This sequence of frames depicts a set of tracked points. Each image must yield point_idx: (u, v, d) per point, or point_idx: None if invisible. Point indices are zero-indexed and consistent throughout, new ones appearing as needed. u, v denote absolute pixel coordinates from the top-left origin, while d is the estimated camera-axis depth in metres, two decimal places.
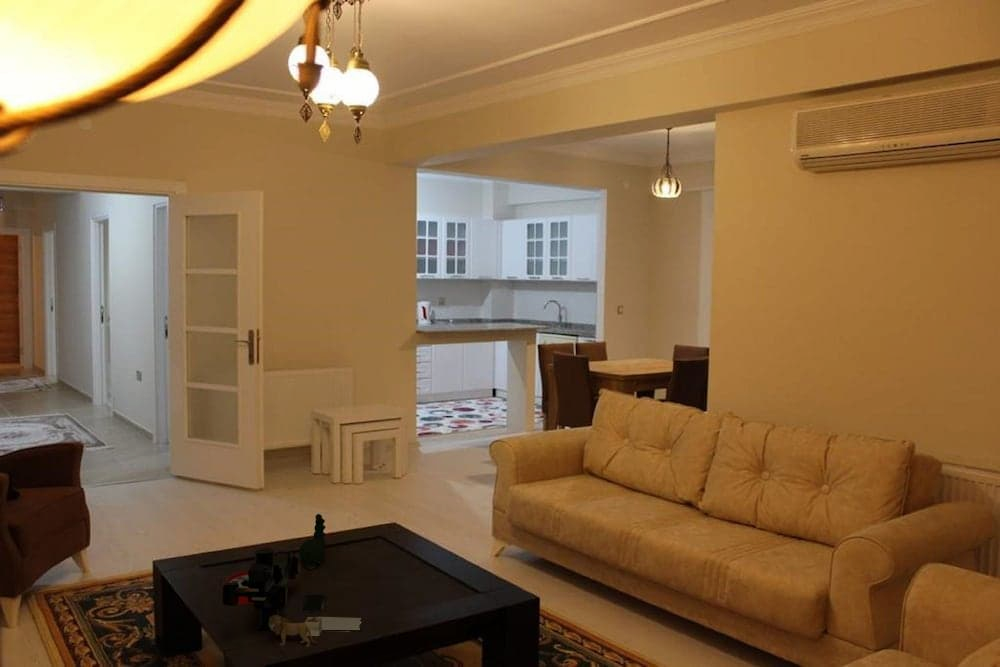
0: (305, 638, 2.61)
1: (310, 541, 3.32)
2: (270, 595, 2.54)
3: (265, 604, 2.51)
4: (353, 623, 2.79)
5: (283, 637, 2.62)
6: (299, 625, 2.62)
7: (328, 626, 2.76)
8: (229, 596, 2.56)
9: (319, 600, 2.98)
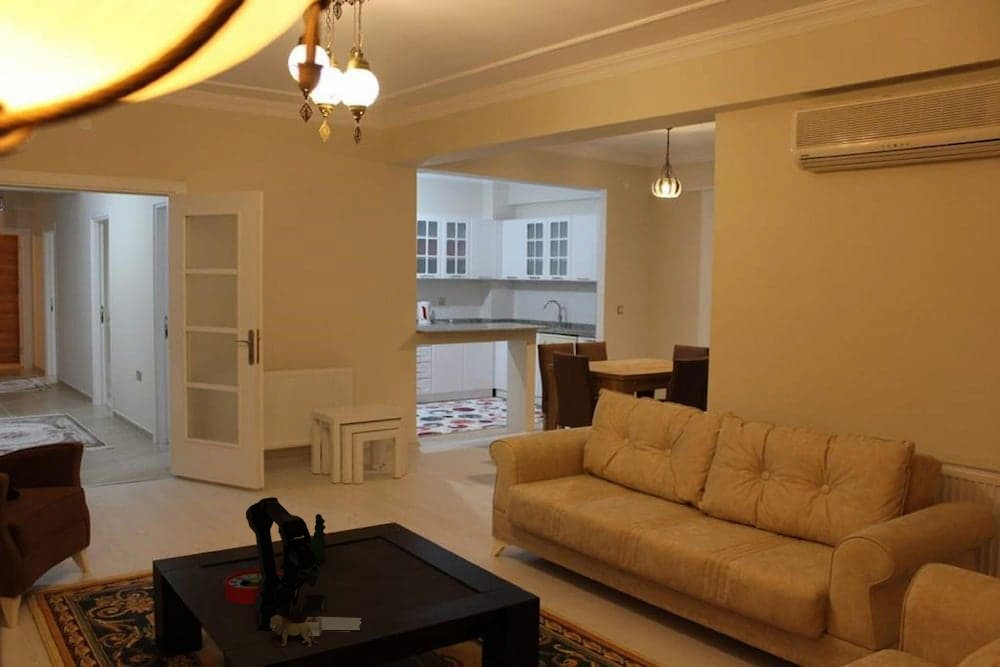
0: (307, 638, 2.61)
1: None
2: (299, 589, 2.68)
3: None
4: (353, 623, 2.79)
5: (285, 637, 2.62)
6: (301, 625, 2.62)
7: (328, 626, 2.76)
8: None
9: (319, 600, 2.98)
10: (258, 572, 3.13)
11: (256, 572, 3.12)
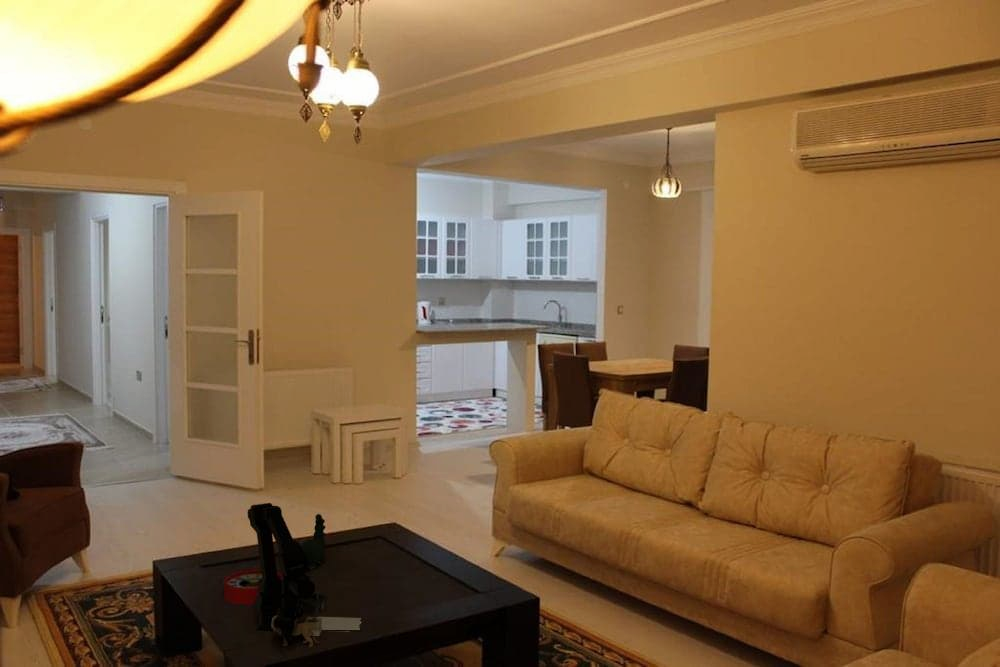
0: (308, 638, 2.61)
1: (310, 541, 3.32)
2: (297, 620, 2.66)
3: None
4: (353, 623, 2.79)
5: None
6: (302, 625, 2.62)
7: (328, 626, 2.76)
8: None
9: None
10: (257, 572, 3.12)
11: (255, 572, 3.12)
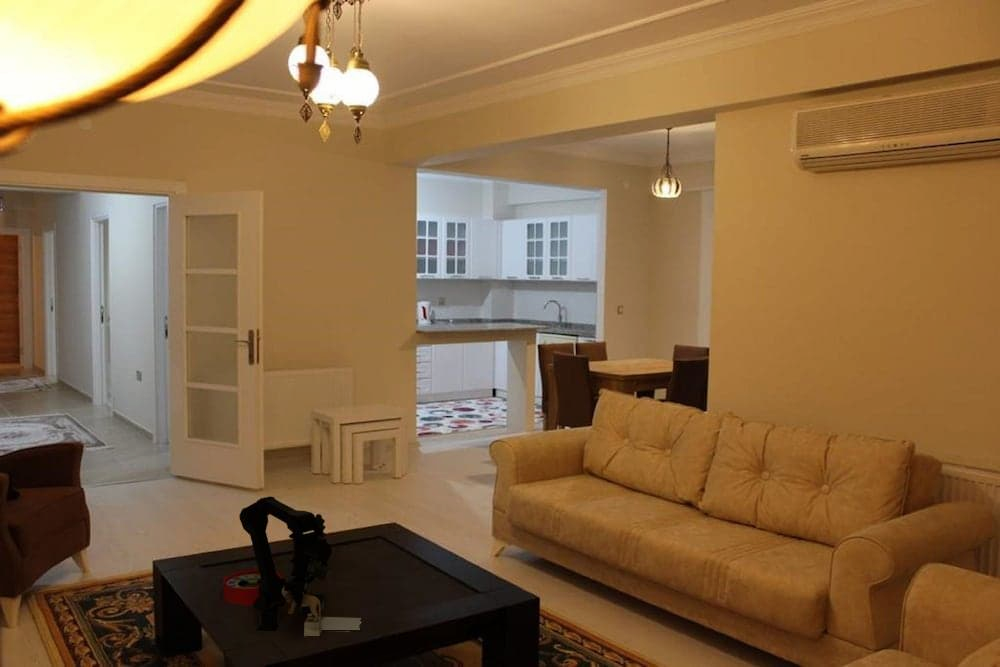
0: (314, 612, 2.64)
1: None
2: (308, 586, 2.68)
3: None
4: (353, 623, 2.79)
5: (293, 606, 2.64)
6: (311, 598, 2.64)
7: (328, 626, 2.76)
8: None
9: (319, 600, 2.98)
10: (256, 572, 3.12)
11: (254, 572, 3.12)
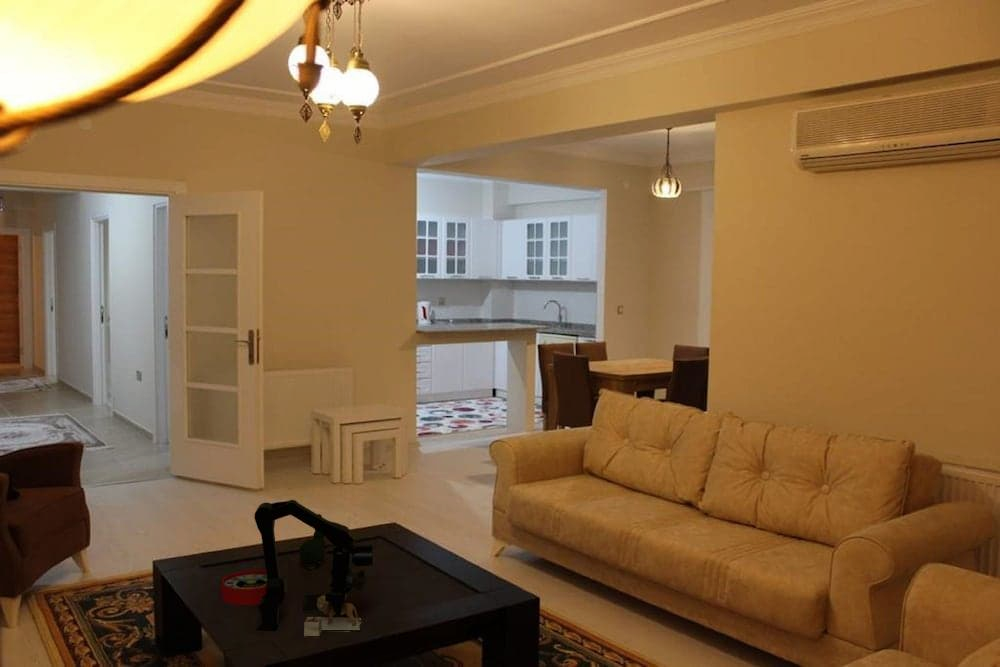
0: (352, 617, 2.77)
1: (310, 541, 3.32)
2: None
3: None
4: None
5: (331, 617, 2.78)
6: (346, 605, 2.78)
7: (328, 626, 2.76)
8: None
9: None
10: (254, 573, 3.12)
11: (252, 573, 3.12)
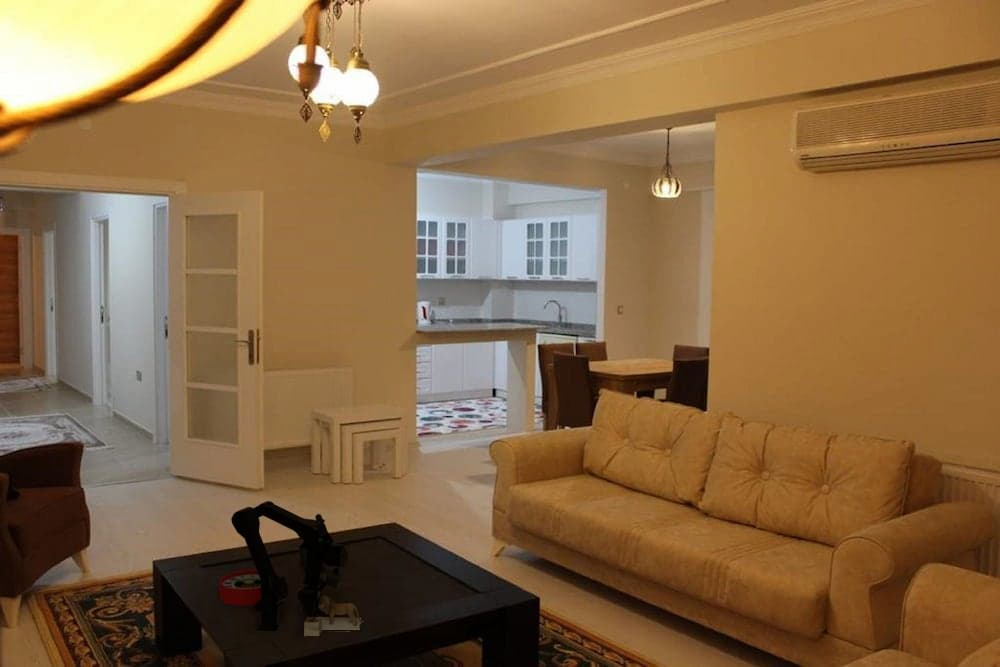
0: (353, 617, 2.77)
1: None
2: (321, 591, 2.76)
3: None
4: (353, 623, 2.79)
5: (332, 617, 2.78)
6: (347, 605, 2.78)
7: (328, 626, 2.76)
8: None
9: None
10: (252, 573, 3.12)
11: (250, 573, 3.11)
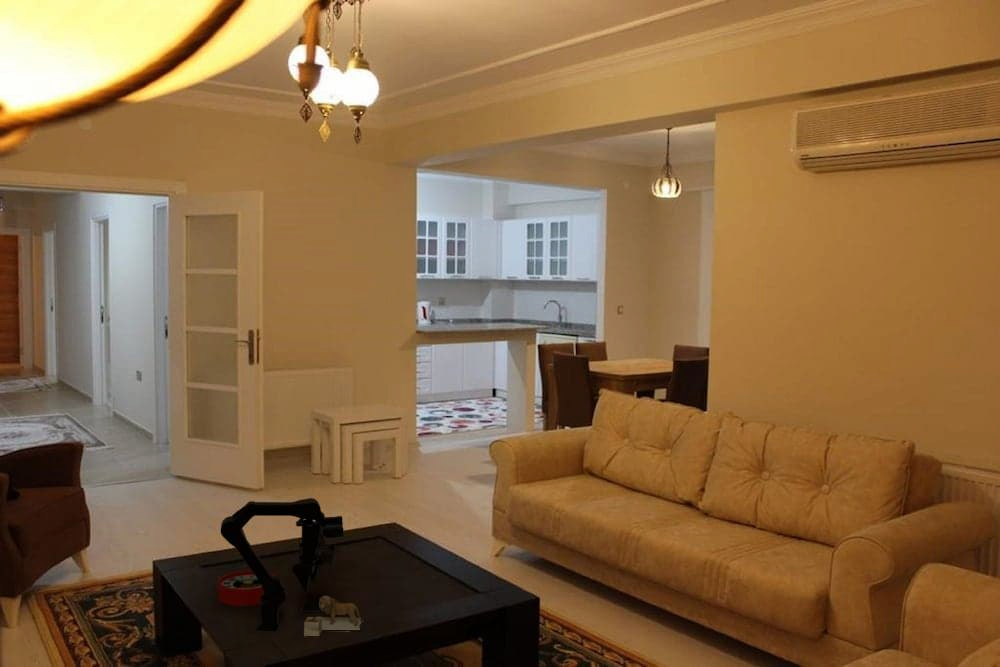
0: (354, 617, 2.77)
1: None
2: (318, 567, 2.84)
3: None
4: (353, 623, 2.79)
5: (333, 616, 2.78)
6: (348, 605, 2.78)
7: (328, 626, 2.76)
8: None
9: (319, 600, 2.98)
10: (251, 573, 3.11)
11: (249, 573, 3.11)
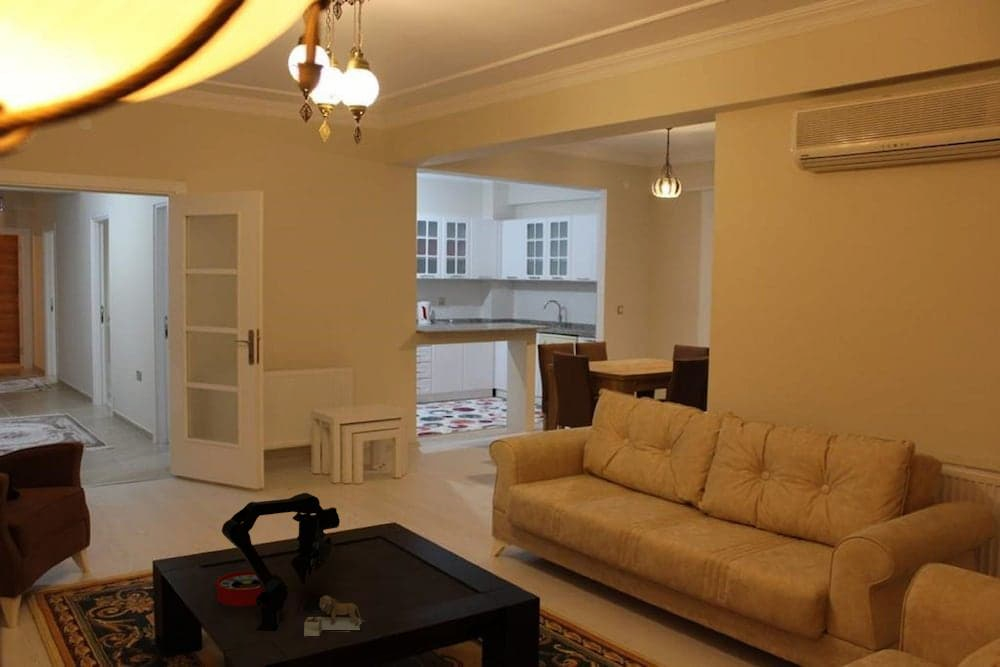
0: (354, 617, 2.77)
1: None
2: (314, 560, 2.88)
3: None
4: (353, 623, 2.79)
5: (333, 616, 2.78)
6: (348, 605, 2.78)
7: (328, 626, 2.76)
8: None
9: (319, 600, 2.98)
10: (250, 573, 3.11)
11: (248, 573, 3.11)
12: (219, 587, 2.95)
